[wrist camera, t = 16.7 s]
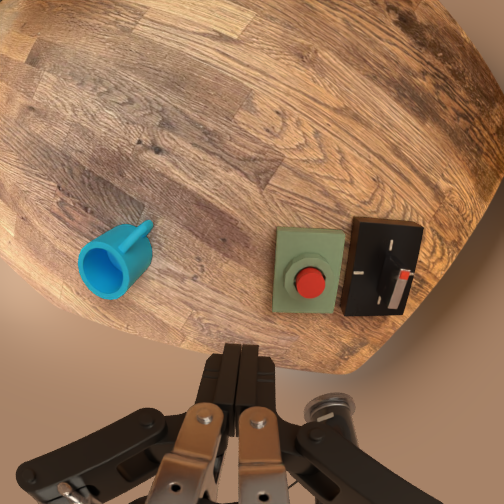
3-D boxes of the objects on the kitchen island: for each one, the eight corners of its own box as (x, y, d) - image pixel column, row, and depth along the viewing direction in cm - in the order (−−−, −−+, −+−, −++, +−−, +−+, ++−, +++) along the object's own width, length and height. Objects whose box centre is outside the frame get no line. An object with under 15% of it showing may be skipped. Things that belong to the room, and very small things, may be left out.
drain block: (330, 305, 42) (335, 320, 38) (271, 304, 42) (272, 319, 38) (341, 229, 37) (349, 238, 34) (276, 226, 38) (277, 234, 34)
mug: (132, 284, 42) (108, 310, 34) (98, 247, 40) (69, 267, 33) (180, 236, 39) (160, 257, 31) (141, 194, 37) (113, 206, 29)
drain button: (321, 292, 37) (323, 298, 35) (294, 291, 37) (295, 298, 35) (324, 267, 36) (327, 273, 34) (296, 266, 36) (298, 272, 34)
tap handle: (384, 291, 37) (398, 310, 32) (375, 290, 37) (388, 309, 32) (395, 255, 35) (411, 271, 30) (385, 254, 35) (401, 269, 30)
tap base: (395, 305, 41) (403, 315, 38) (339, 305, 42) (344, 317, 39) (414, 221, 36) (424, 227, 33) (353, 216, 37) (360, 222, 34)
